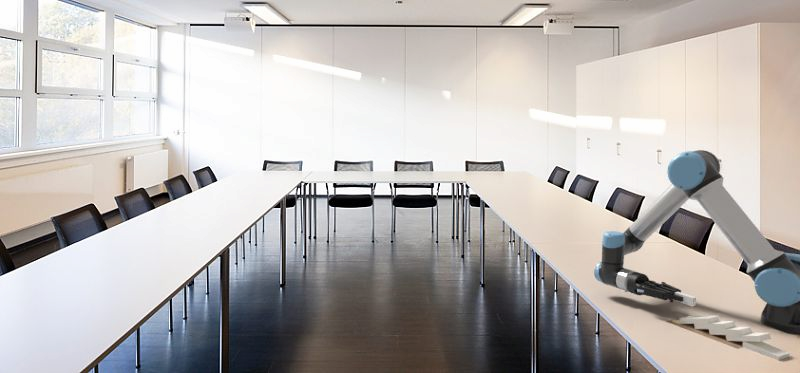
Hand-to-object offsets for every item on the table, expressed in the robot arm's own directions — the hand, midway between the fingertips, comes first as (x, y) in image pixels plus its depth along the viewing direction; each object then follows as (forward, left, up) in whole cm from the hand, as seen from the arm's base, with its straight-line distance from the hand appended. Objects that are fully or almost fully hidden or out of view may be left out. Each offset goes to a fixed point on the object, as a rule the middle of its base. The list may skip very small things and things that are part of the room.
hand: (694, 301), depth 183 cm
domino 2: (0, +3, -7) cm, 7 cm away
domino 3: (0, +8, -7) cm, 10 cm away
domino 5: (0, +18, -7) cm, 19 cm away
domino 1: (0, -3, -7) cm, 7 cm away
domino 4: (0, +13, -7) cm, 14 cm away
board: (0, +6, -8) cm, 10 cm away
